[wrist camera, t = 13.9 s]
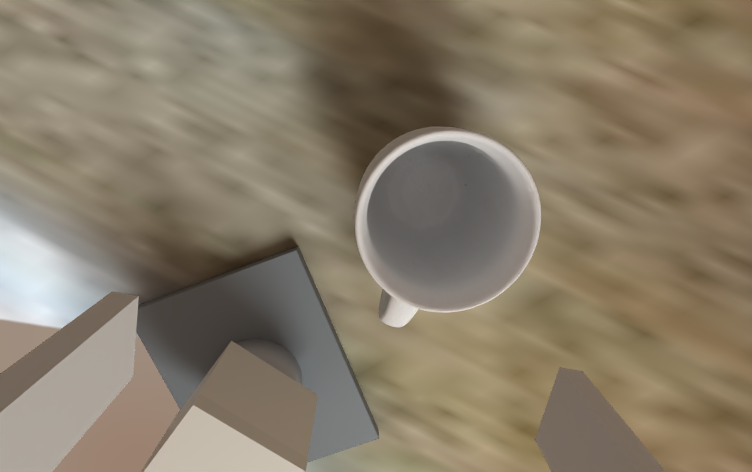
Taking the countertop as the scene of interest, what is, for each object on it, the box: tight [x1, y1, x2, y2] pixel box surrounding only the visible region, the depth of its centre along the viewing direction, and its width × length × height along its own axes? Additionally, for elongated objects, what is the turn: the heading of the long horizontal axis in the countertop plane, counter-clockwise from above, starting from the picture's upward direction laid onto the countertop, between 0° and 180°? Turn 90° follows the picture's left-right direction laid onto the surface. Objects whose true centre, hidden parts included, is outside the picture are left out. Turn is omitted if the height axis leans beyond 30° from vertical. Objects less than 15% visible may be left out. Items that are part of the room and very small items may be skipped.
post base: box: [136, 247, 379, 462], centre depth 38 cm, size 20×16×10 cm
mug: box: [354, 126, 541, 327], centre depth 33 cm, size 15×11×13 cm
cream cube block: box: [141, 341, 318, 472], centre depth 34 cm, size 8×8×8 cm
